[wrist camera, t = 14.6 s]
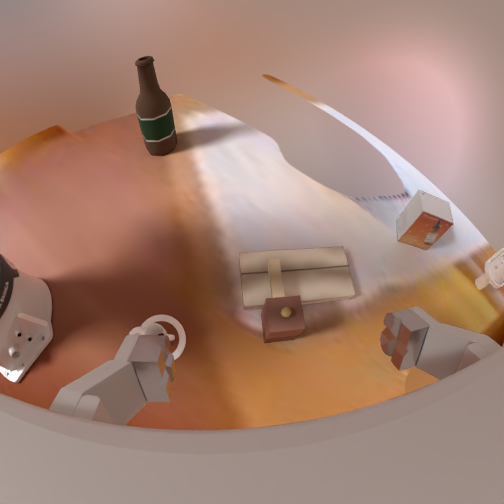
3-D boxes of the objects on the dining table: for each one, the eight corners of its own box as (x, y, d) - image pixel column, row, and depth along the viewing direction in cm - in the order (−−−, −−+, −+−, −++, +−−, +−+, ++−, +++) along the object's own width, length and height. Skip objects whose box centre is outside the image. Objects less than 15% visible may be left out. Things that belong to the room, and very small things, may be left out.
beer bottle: (184, 142, 60) (171, 52, 39) (162, 160, 57) (141, 67, 36) (162, 133, 62) (146, 50, 41) (140, 151, 58) (117, 65, 37)
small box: (396, 241, 49) (422, 210, 40) (395, 219, 52) (418, 188, 43) (426, 251, 49) (454, 224, 39) (424, 230, 51) (449, 201, 42)
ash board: (351, 298, 43) (355, 294, 41) (243, 309, 42) (243, 305, 40) (339, 251, 47) (343, 246, 46) (239, 258, 46) (239, 252, 44)
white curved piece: (126, 346, 38) (116, 342, 34) (148, 305, 42) (140, 296, 38) (173, 373, 37) (166, 371, 33) (194, 328, 40) (190, 322, 37)
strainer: (490, 288, 45) (531, 259, 32) (480, 303, 43) (525, 275, 30) (476, 265, 48) (515, 232, 34) (465, 279, 46) (508, 246, 33)
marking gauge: (293, 339, 40) (306, 327, 32) (264, 343, 39) (270, 331, 32) (283, 271, 45) (292, 245, 37) (256, 273, 45) (260, 247, 37)
